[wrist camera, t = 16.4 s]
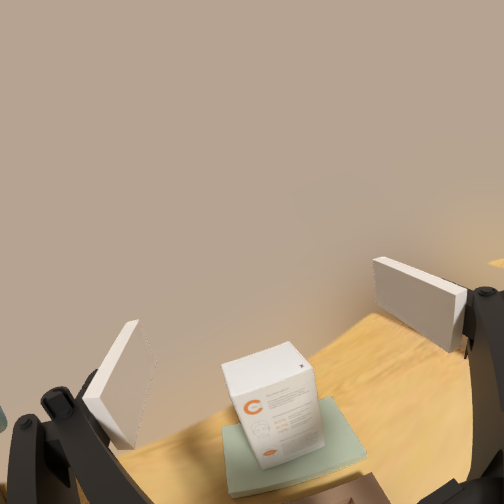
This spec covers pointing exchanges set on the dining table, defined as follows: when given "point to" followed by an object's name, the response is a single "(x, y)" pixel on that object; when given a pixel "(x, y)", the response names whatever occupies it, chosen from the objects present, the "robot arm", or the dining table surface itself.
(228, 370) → the small box
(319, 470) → the board
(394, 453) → the dining table surface
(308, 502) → the walnut holder
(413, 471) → the dining table surface
